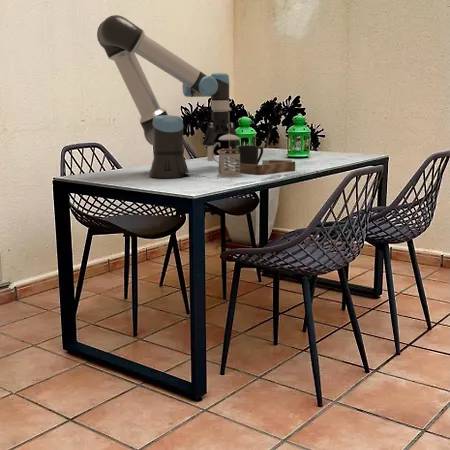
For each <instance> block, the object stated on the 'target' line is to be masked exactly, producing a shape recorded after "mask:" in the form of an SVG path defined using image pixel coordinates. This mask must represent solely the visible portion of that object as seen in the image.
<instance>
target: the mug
mask: <svg viewBox="0 0 450 450" xmlns="http://www.w3.org/2000/svg"><path fill="white" fill-rule="evenodd" d="M237 149H239V151H237V153H240V164H252V165H259V163H260V161H261V158H262V156H263V154H264V147H263V146H258V145H238V146H237ZM259 149H260V150H259ZM259 151H260V152H259Z"/></svg>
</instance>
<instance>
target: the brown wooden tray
mask: <svg viewBox="0 0 450 450" xmlns="http://www.w3.org/2000/svg"><path fill="white" fill-rule="evenodd" d="M278 160H279V159H277V160H269V164H263V165H262V164H258V165H252V164H240V173H241V174H245V175H256V176H257V175H258V176H260V175H268V174H269V175H270V174H276V173H277V174H278V173H285V172H294V171H296V161H293V160H292V161H278ZM234 167H236V166H234ZM234 171H236V170H235V169H234Z"/></svg>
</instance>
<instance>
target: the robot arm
mask: <svg viewBox="0 0 450 450" xmlns="http://www.w3.org/2000/svg"><path fill="white" fill-rule="evenodd" d="M96 37H97V42H98V43H99V45H100V47H102V48H103V49H104V51H105V54H106V56H107V57H108V59H109V60H111V61H113V62H114V63H115V65H116V68H117V69H118V72H119V74H120V76H121V78H122V80H123V83H125V87H126V88H127V90H128V92H129V94H130V96H131V99H132V100H133V103H134V104H135V107H136V109H137V110H138V113H139V115H140V120H139V123H140V126H141V128H142V130H143V135H144V137H145V140H146V142H148V143H149V144H150V145H151V146H152V147H153V160H152V163H151V168H150V169H149V176H150V177H151V178H161V179H164V178H165V179H166V178H169V179H170V178H183V177H188V176H189V175H190V174H189V172H190V171H189V168H188V165H187V161H186V159H185V156H184V155H185V154H184V153H185V152H184V151H185V150H184V149H185V147H184V122H183V121H184V120H183V118H182V117H181V116H178V115H169V114H168V112H167V111H166V109H164V108H162V107H161V106H160V104H159V102H158V99H157V98H156V95H155V94H154V93H155V92H153V89H152V87H151V85H150V83H149V81H148V79H147V77H146V74H145V72H144V69H143V68H142V66H141V64H140V62H139V60H138V57H137V55H138V56H139V57H140V58H142V59H145V60H146V61H148V62H149V63H151V64H153V65H154V66H155V67H157V68H158V69H160V70H162V71H163V72H165V74H167V75H169V76H170V77H173V78H174V79H176V80H178V82H180V83H182V94H183V96H184V97H186V98H187V97H188V98H189V97H190V98H195V97H196V98H200V97H201V98H202V97H205V98H206V97H208V98H209V97H211V98H210V99H211V111H212V112H211V121H212V122H207V128H206V131H205V135H204V138H203V141H202V144H203V145H205V147H206V155H207V162H214V159H213V158H212V156H213V155H214V150H213V149H212V147H213V146H214V145H213V143H214V142H215V139H216V138H217V136H218V135H219V134H223V135H227V134H231V135H235V136H237V137H239V136H238V134H237V131H236V129H235V123H234V122H229V121H230V111H226V110H227V108H230V78H229V77H230V76H229V74H228V73H225V72H219V73H218V72H215V73H214V72H213V73H211V74H210V75H206V74H205V73H204V72H202V71H201V70H199V69H197V68H196V67H194V66H193V65H192V64H191V63H188V62H187V61H185V60H184V59H182V57H181V58H180V57H179V56H178V55H177V54H175V53H174V52H172V51H170V50H169V49H167V48H165V47H164V46H163V45H161V44H159V43H158V42H156V41H155V40H154V39H152V38H150V37H149V36H147V35H146V34H145V30H143V29H141V27H139V26H138V25H136V24H135V23H133V22H132V21H130V20H129V19H127V18H126V17H124V16H121V15H118V14H115V15H113V14H112V15H110V16H108V17H106V18H105V19H104V20H103V21H102V22H101V23H99V26H98V28H97V33H96ZM227 142H228V143H229V140H227ZM238 146H241V143H240V140H230V148H231V149H237V147H238ZM213 148H214V147H213ZM211 150H212V155H211ZM228 153H237V151H231V152H228ZM228 159H232V158H230V157H228ZM232 160H236V159H232ZM229 163H234V162H231V161H229ZM234 164H235V163H234Z"/></svg>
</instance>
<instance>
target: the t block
mask: <svg viewBox="0 0 450 450" xmlns="http://www.w3.org/2000/svg"><path fill="white" fill-rule="evenodd" d="M269 160H278V161H292V162H293V160H292V159H277V158H267V159H262V162H261V163H262V164H261V165H263V164H269Z"/></svg>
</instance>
